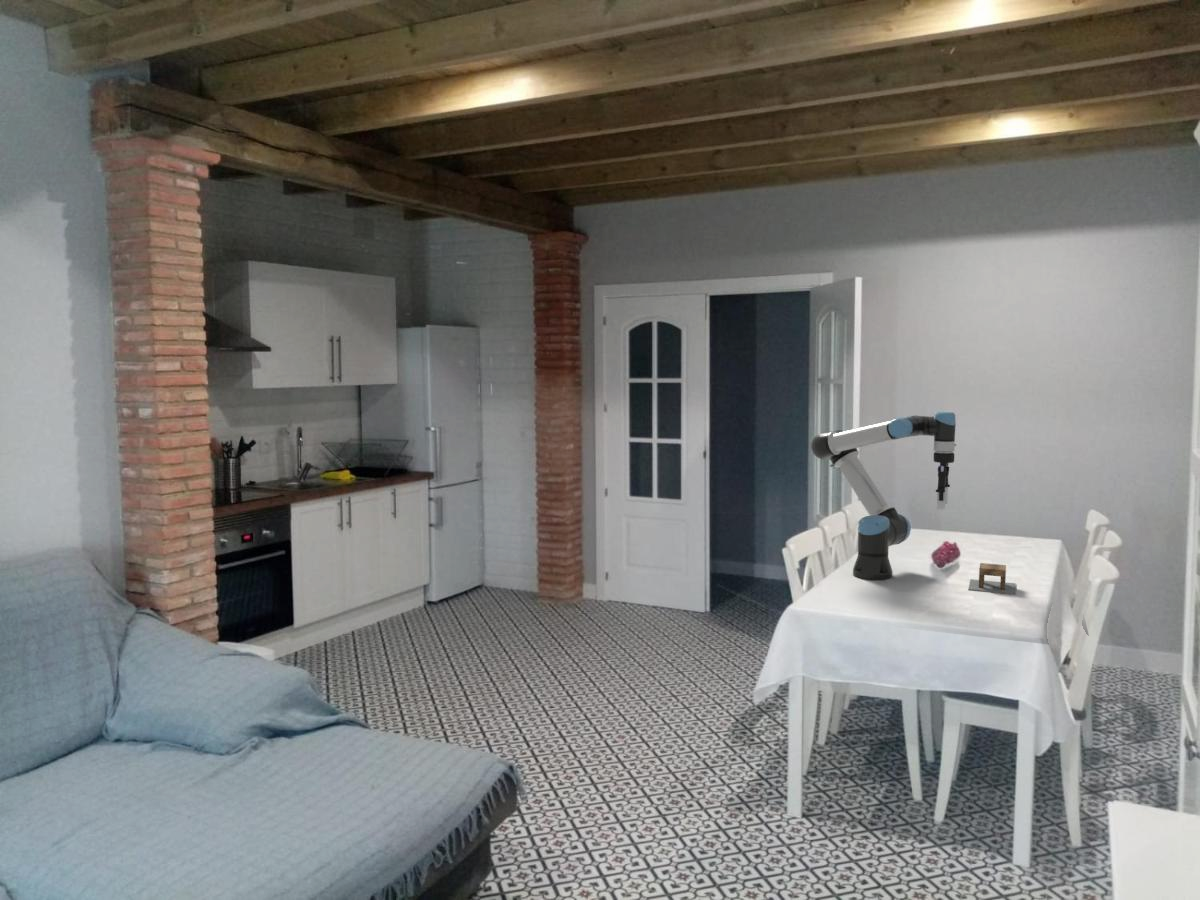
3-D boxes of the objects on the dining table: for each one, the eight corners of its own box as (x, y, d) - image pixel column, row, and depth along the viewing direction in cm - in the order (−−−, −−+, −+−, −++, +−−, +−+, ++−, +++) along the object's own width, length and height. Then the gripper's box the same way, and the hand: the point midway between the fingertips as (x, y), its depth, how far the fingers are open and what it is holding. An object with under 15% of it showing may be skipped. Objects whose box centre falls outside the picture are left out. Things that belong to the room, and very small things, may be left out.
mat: (968, 590, 341) (968, 588, 341) (970, 580, 356) (970, 579, 356) (1015, 594, 335) (1015, 593, 335) (1015, 584, 349) (1015, 583, 349)
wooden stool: (978, 587, 343) (979, 568, 342) (979, 582, 351) (980, 563, 350) (1004, 590, 339) (1005, 570, 339) (1005, 584, 348) (1006, 565, 347)
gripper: (952, 455, 341) (950, 512, 343) (956, 449, 363) (954, 502, 365) (930, 454, 344) (929, 510, 346) (936, 448, 366) (934, 500, 368)
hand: (942, 506), depth 356 cm, fingers open, 13 cm apart
